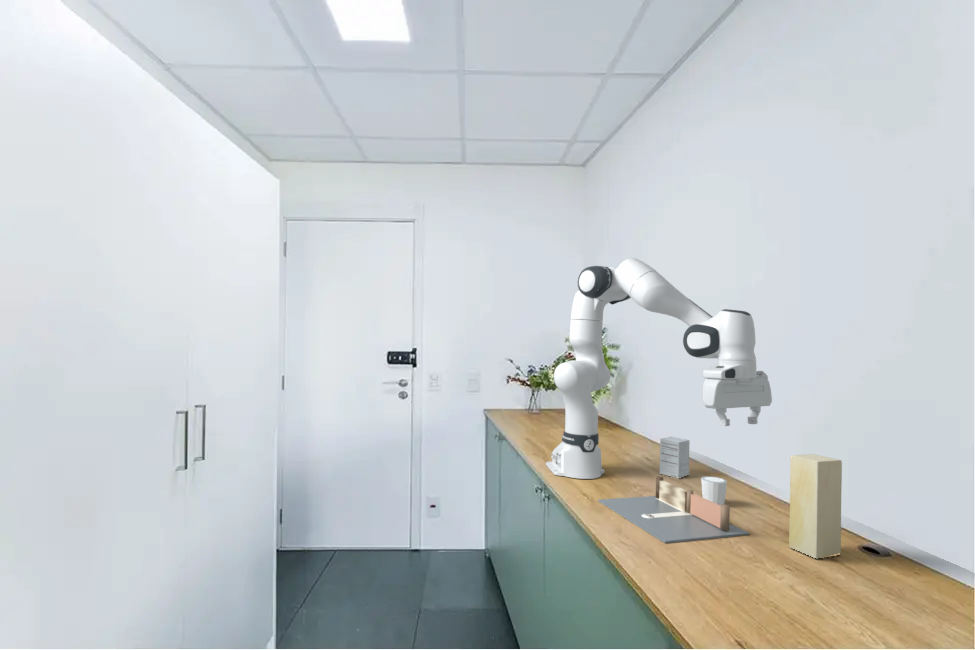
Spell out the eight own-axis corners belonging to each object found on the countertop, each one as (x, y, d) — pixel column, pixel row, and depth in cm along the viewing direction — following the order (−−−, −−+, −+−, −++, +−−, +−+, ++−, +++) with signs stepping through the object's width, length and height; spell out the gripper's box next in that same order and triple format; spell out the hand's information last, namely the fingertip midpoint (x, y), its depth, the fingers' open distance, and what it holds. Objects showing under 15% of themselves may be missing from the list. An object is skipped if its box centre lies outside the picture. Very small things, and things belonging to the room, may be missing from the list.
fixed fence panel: (654, 497, 147) (654, 476, 147) (659, 496, 148) (660, 476, 148) (683, 511, 135) (684, 489, 135) (689, 511, 135) (690, 489, 136)
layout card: (597, 501, 143) (598, 499, 143) (669, 496, 150) (669, 494, 150) (664, 543, 114) (665, 540, 114) (749, 534, 121) (749, 532, 121)
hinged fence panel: (684, 511, 134) (685, 489, 135) (690, 510, 135) (691, 489, 135) (724, 531, 121) (724, 507, 121) (731, 530, 121) (731, 506, 122)
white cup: (699, 504, 143) (700, 479, 144) (701, 498, 149) (702, 474, 150) (726, 509, 140) (726, 483, 140) (727, 502, 146) (727, 478, 146)
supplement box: (670, 471, 180) (670, 436, 181) (689, 476, 175) (690, 439, 175) (658, 474, 176) (659, 438, 176) (678, 479, 170) (679, 442, 170)
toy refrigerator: (809, 542, 118) (811, 452, 118) (841, 555, 111) (843, 460, 111) (785, 546, 115) (787, 454, 115) (816, 560, 108) (818, 462, 108)
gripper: (756, 370, 137) (758, 421, 136) (697, 371, 130) (699, 425, 129) (777, 371, 131) (779, 424, 130) (716, 372, 124) (718, 428, 123)
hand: (739, 424), depth 129 cm, fingers open, 8 cm apart
